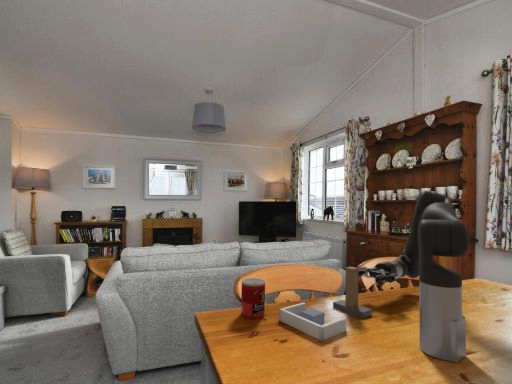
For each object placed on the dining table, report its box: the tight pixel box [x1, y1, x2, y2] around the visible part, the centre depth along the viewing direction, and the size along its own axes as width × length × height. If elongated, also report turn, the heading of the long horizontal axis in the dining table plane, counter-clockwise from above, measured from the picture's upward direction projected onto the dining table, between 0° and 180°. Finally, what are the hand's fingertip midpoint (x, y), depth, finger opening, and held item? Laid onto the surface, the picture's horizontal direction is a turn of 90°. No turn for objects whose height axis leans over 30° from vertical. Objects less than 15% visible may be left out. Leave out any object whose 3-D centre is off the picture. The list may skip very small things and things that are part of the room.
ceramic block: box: [300, 307, 325, 325], centre depth 90 cm, size 5×5×4 cm
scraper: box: [332, 266, 373, 319], centre depth 102 cm, size 12×5×15 cm, turn 37°
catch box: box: [278, 302, 347, 342], centre depth 89 cm, size 17×11×4 cm, turn 37°
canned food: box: [240, 277, 266, 320], centre depth 97 cm, size 8×8×11 cm
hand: (365, 277), depth 107 cm, fingers open, 8 cm apart
